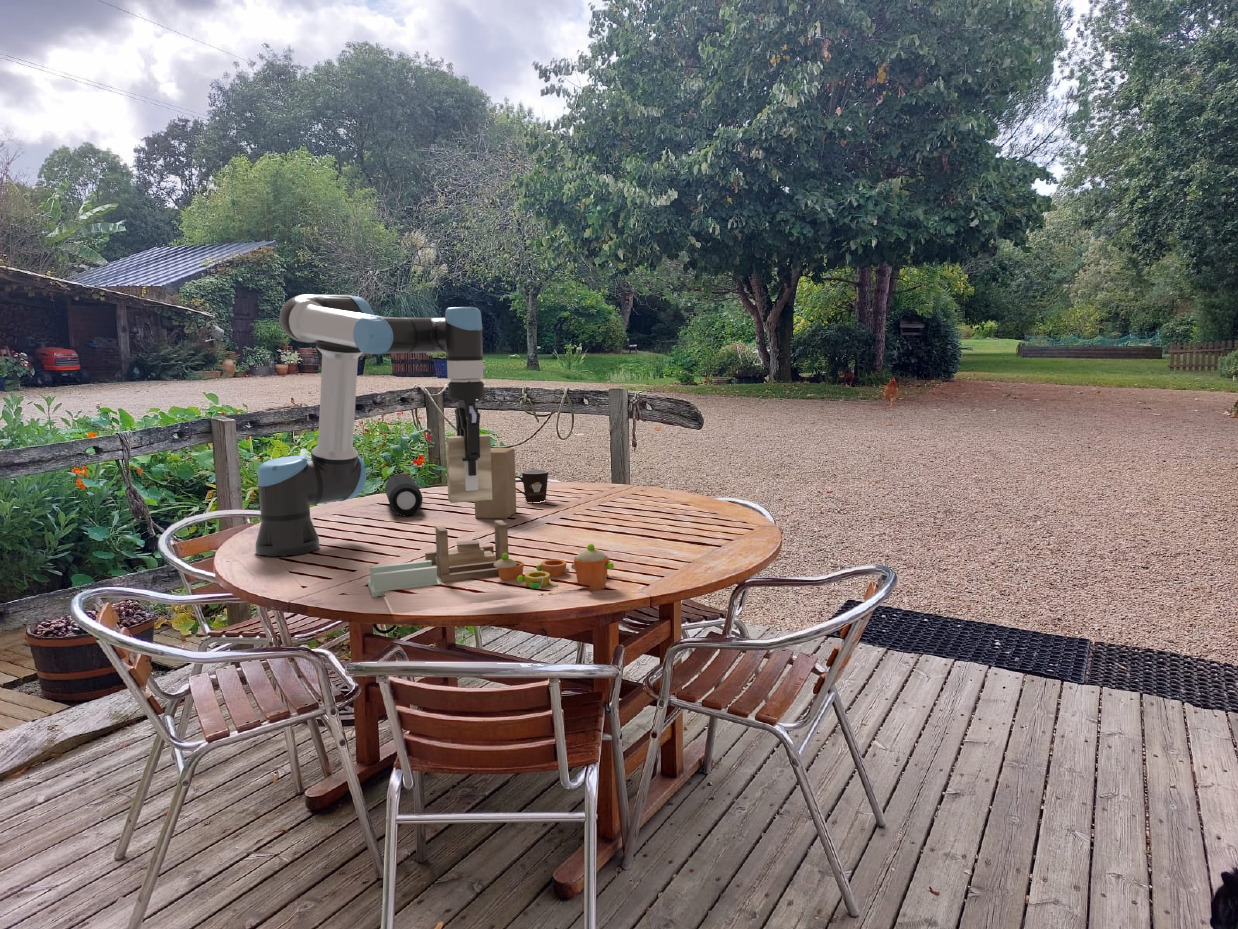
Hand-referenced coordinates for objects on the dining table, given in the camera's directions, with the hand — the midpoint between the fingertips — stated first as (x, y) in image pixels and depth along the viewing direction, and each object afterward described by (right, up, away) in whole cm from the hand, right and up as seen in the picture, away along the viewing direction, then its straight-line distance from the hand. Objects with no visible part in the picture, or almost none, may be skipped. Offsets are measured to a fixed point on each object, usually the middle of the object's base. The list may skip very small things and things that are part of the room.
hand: (469, 488), depth 182 cm
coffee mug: (+4, -7, +91) cm, 91 cm away
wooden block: (-5, -10, +70) cm, 71 cm away
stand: (-14, -21, -2) cm, 25 cm away
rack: (-2, -19, +8) cm, 21 cm away
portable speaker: (-35, -9, +81) cm, 89 cm away
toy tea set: (+19, -21, -1) cm, 28 cm away
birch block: (0, -3, 0) cm, 3 cm away
